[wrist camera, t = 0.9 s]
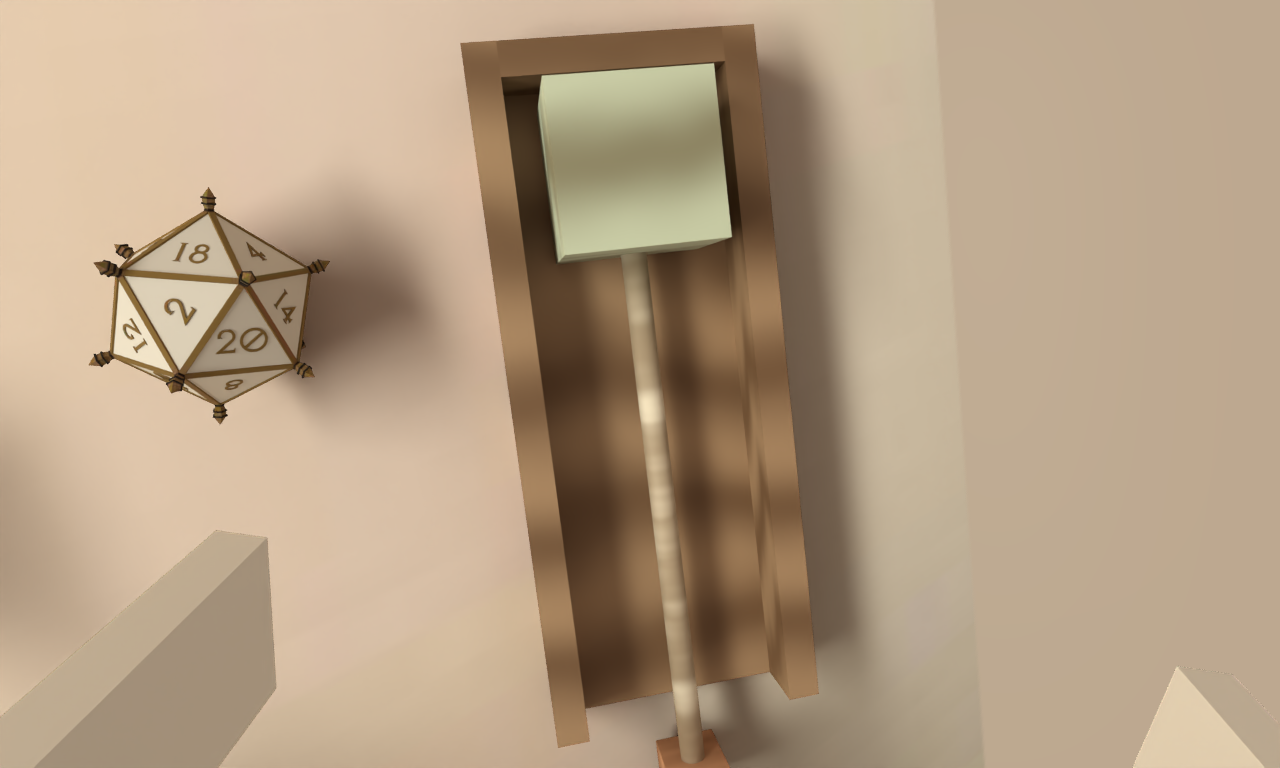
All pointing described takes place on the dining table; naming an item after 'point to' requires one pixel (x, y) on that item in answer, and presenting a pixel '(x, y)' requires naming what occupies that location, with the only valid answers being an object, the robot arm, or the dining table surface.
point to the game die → (209, 309)
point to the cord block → (643, 272)
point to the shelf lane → (608, 402)
